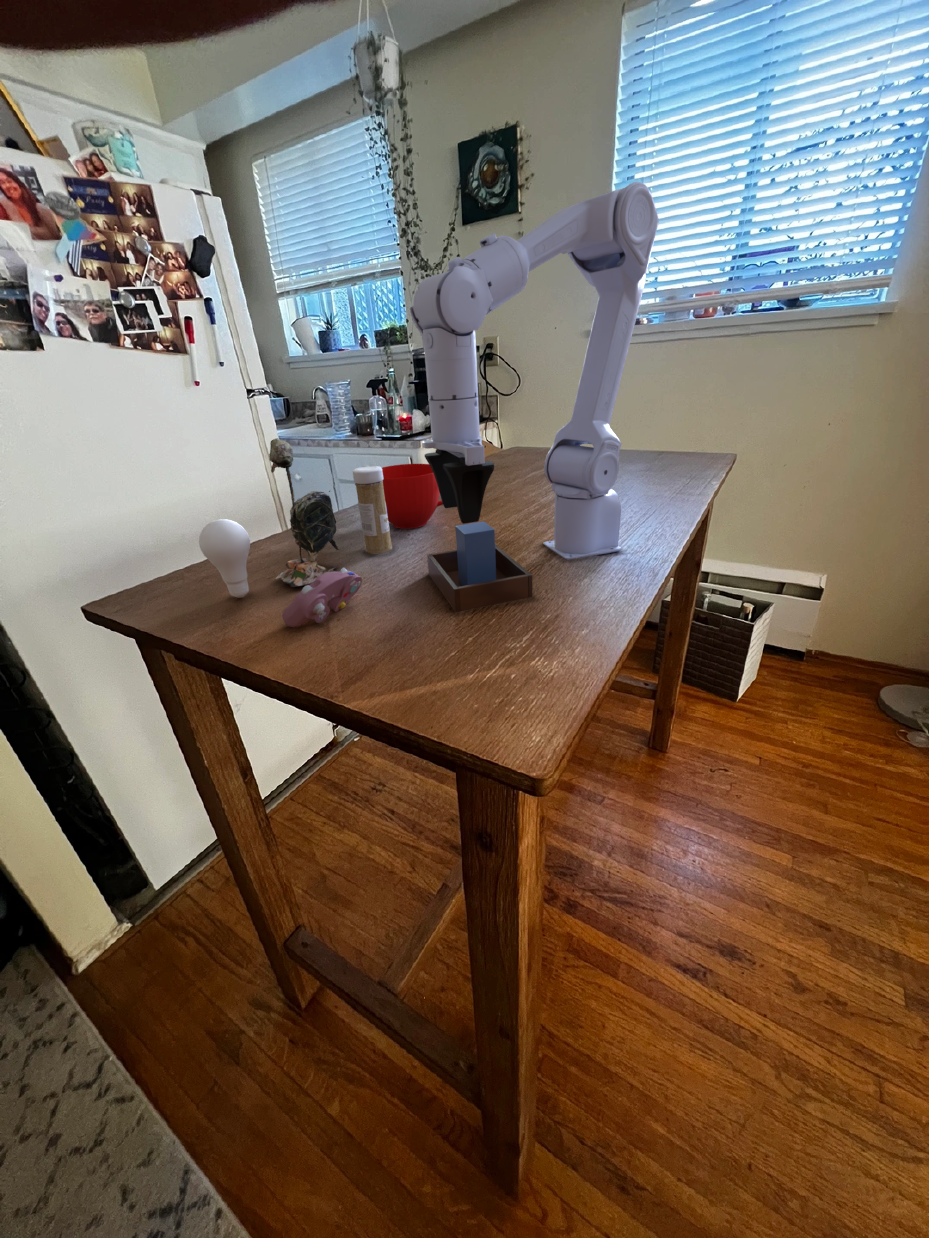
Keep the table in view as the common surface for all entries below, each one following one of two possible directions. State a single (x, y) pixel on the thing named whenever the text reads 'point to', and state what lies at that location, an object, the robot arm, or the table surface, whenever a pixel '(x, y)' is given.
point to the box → (506, 587)
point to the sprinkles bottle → (372, 509)
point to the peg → (475, 553)
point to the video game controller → (322, 597)
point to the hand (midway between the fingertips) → (460, 514)
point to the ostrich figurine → (305, 523)
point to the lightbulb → (227, 553)
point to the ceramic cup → (410, 494)
